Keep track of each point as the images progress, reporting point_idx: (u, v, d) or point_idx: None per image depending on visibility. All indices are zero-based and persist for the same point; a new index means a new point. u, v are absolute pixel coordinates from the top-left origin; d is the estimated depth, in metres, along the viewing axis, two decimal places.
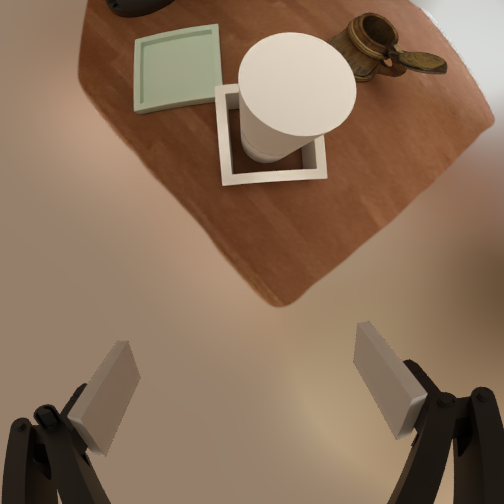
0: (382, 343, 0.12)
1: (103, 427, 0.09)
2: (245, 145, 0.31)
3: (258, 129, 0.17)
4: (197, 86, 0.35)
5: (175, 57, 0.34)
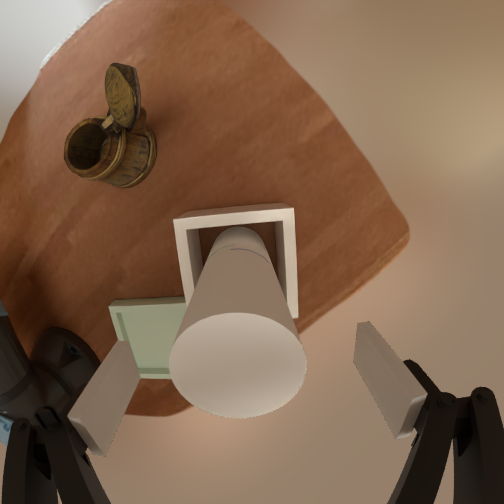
0: (382, 343, 0.12)
1: (103, 427, 0.09)
2: None
3: None
4: None
5: (149, 341, 0.39)
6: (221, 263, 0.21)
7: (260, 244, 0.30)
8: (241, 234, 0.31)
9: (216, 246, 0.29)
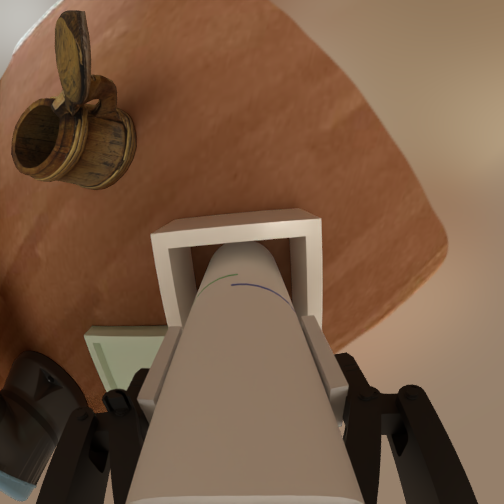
0: (319, 335, 0.14)
1: None
2: None
3: None
4: None
5: None
6: (214, 318, 0.12)
7: (273, 268, 0.22)
8: (246, 253, 0.23)
9: (211, 272, 0.20)
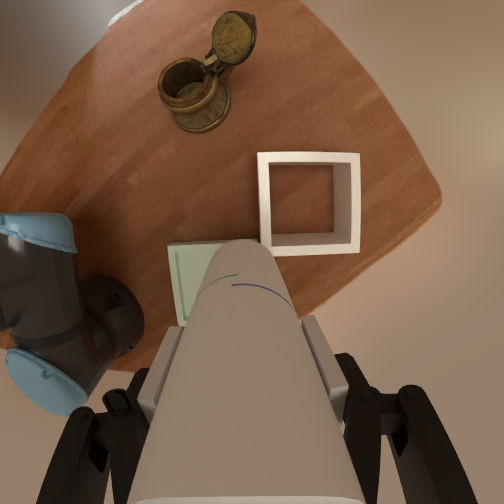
0: (319, 335, 0.14)
1: None
2: None
3: None
4: None
5: None
6: (215, 318, 0.12)
7: (273, 268, 0.22)
8: (246, 253, 0.23)
9: (211, 272, 0.20)
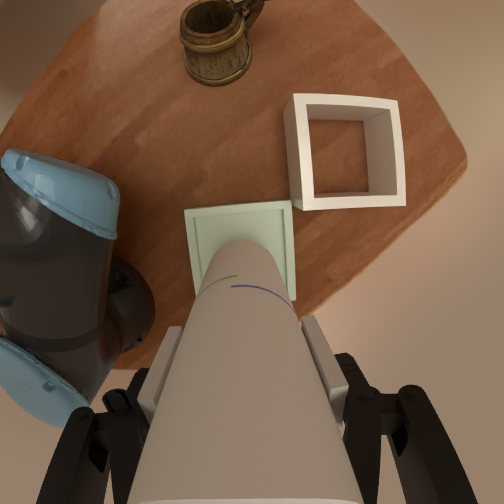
0: (319, 335, 0.14)
1: None
2: None
3: None
4: (270, 229, 0.36)
5: None
6: (215, 319, 0.12)
7: (273, 269, 0.22)
8: (246, 254, 0.23)
9: (211, 273, 0.20)
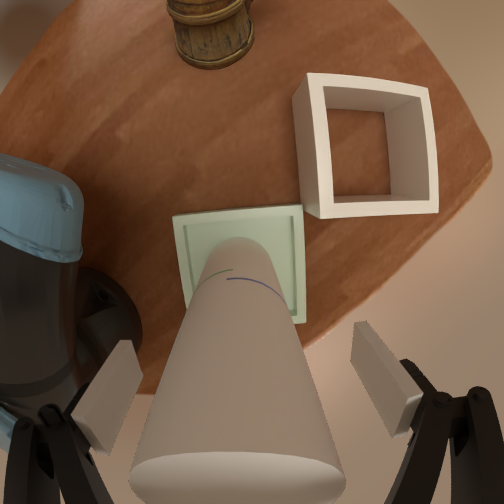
0: (379, 342, 0.12)
1: (106, 426, 0.10)
2: None
3: None
4: (277, 239, 0.30)
5: None
6: (211, 307, 0.14)
7: (267, 264, 0.23)
8: (242, 250, 0.24)
9: (208, 268, 0.22)
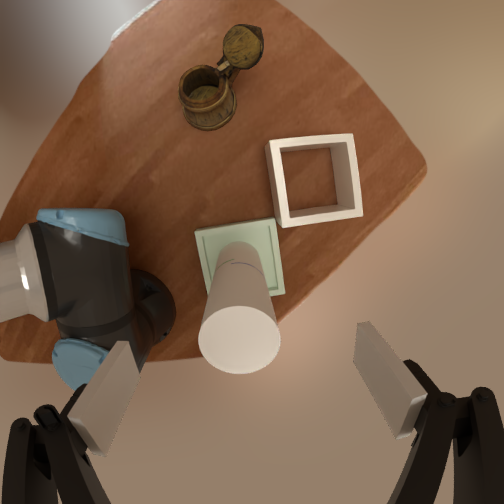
0: (382, 343, 0.12)
1: (103, 427, 0.09)
2: None
3: None
4: (261, 241, 0.47)
5: None
6: (225, 275, 0.31)
7: (253, 256, 0.40)
8: (239, 249, 0.41)
9: (221, 260, 0.39)
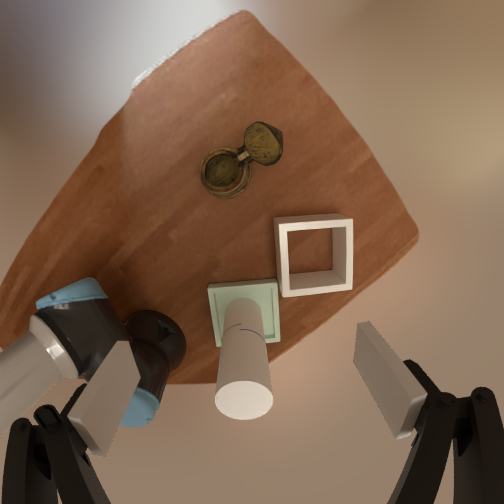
0: (382, 343, 0.12)
1: (103, 427, 0.09)
2: None
3: None
4: (264, 298, 0.55)
5: None
6: (234, 343, 0.39)
7: (256, 317, 0.48)
8: (245, 310, 0.49)
9: (229, 320, 0.47)
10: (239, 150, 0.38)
